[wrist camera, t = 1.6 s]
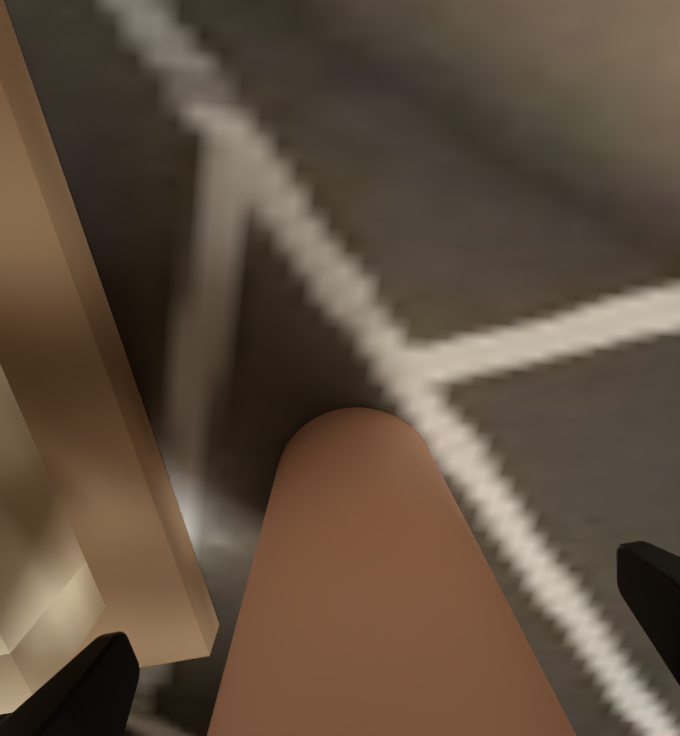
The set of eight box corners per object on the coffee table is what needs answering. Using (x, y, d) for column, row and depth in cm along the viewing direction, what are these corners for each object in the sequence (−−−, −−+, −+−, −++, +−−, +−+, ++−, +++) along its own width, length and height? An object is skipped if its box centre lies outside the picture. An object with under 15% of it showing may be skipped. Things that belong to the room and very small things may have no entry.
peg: (443, 533, 11) (674, 1096, 4) (295, 559, 12) (222, 1155, 4) (423, 393, 10) (694, 783, 3) (259, 423, 10) (54, 883, 3)
